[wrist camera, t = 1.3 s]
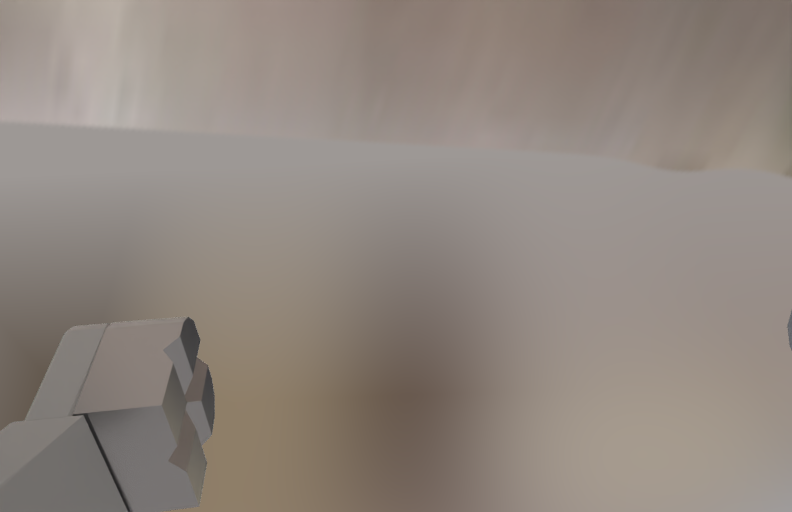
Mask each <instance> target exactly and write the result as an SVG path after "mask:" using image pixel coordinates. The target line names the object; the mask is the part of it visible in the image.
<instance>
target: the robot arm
mask: <svg viewBox="0 0 792 512" xmlns="http://www.w3.org/2000/svg"><path fill="white" fill-rule="evenodd" d="M788 335H789V344H790V347H791V350H792V311H791V315H790V319H789V323H788ZM199 344H200V337H199V335H198V332H197V329H196V326H195V323H194V321H193V320H192V319H191V318H189V317H178V318H165V319H152V320H140V321H127V322H113V323H112V324H108V323H107V324H94V325H83V326H74V327H72V328H71V329H69V330H68V331H66V332H65V334H64V336H63V338H62V340H61V342H60V344H59V347H58V349H57V351H56V353H55V355H54V357H53V359H52V362H51V364H50V366H49V368H48V370H47V373H46V375H45V377H44V379H43V381H42V384H41V385H40V388H39V390H38V392H37V394H36V396H35V399H34V401H33V403H32V405H31V407H30V409H29V412H28V414H27V416H26V418H25V420H24V421H20V422H12V423H10V424H9V425H8V426H7V427H5V428H4V429H3V430H2V431H0V512H161V511H169V510H176V509H184V508H191V507H198V506H199V505H200V499H201V494H202V488H203V483H204V477H205V471H206V466H207V461H206V458H205V455H204V452H203V449H202V445H203V444H204V443H205V441H207V440H208V439H209V437H210V436H211V435H212V430H213V424H214V416H215V409H214V408H215V405H214V404H215V403H214V401H215V399H214V390H213V383H212V378H211V375H210V371H209V367H208V365H207V364H206V363H204V362H203V361H201V360H200V359H199V358H197V354H198V349H199Z"/></svg>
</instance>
